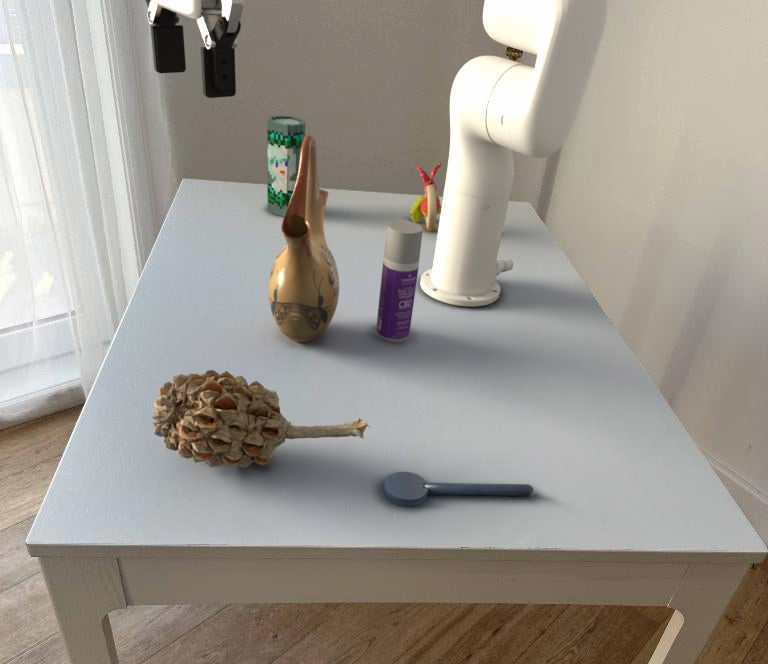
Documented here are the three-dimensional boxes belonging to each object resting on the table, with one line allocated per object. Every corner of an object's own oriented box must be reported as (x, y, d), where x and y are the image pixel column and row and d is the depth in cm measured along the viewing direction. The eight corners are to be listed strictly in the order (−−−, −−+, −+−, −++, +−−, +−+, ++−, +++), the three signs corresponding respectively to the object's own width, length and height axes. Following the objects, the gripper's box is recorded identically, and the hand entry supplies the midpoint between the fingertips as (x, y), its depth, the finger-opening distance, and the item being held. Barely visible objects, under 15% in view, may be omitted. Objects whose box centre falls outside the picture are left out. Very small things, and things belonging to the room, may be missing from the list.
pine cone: (152, 489, 73) (141, 405, 66) (161, 433, 80) (151, 351, 73) (371, 487, 77) (381, 407, 70) (361, 433, 84) (369, 356, 77)
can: (264, 213, 132) (263, 121, 122) (273, 202, 136) (274, 113, 126) (297, 218, 131) (299, 127, 122) (305, 207, 136) (308, 118, 126)
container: (398, 345, 100) (412, 236, 90) (369, 334, 101) (380, 226, 92) (415, 333, 103) (430, 226, 93) (387, 322, 105) (399, 216, 95)
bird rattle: (445, 242, 136) (438, 206, 139) (459, 193, 126) (452, 156, 129) (412, 241, 135) (406, 204, 138) (424, 192, 125) (417, 154, 128)
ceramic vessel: (326, 369, 93) (338, 161, 77) (256, 359, 93) (253, 149, 77) (343, 312, 106) (357, 122, 89) (282, 303, 106) (284, 112, 89)
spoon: (385, 506, 74) (386, 497, 74) (381, 478, 78) (382, 469, 77) (536, 508, 77) (539, 499, 76) (526, 480, 80) (528, 472, 79)
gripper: (275, -137, 58) (275, 104, 69) (171, -153, 67) (186, 62, 78) (189, -148, 54) (203, 109, 65) (91, -163, 63) (119, 65, 75)
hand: (194, 83), depth 72 cm, fingers open, 9 cm apart
